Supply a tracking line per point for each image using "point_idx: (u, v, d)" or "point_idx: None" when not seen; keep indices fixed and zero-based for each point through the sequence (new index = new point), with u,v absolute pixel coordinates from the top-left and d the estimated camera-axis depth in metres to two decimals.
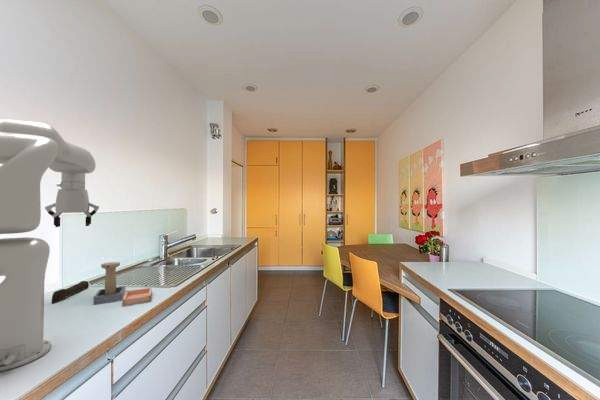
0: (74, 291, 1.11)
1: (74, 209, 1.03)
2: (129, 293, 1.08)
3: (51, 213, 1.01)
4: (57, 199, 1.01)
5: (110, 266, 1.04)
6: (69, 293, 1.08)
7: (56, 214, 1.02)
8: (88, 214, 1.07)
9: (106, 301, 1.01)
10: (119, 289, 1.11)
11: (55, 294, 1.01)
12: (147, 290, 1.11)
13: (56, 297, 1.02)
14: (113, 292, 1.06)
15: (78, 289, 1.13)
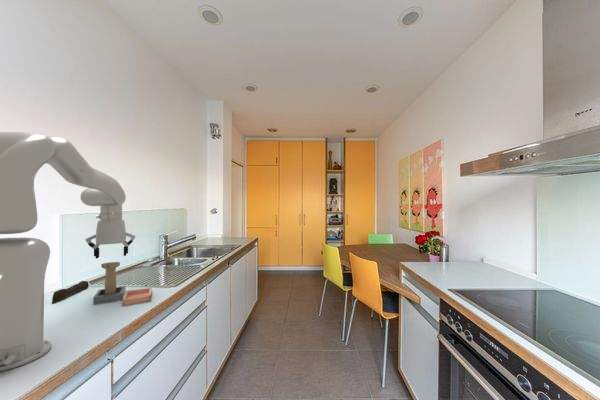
0: (74, 291, 1.11)
1: (113, 240, 1.05)
2: (129, 293, 1.08)
3: (91, 245, 1.03)
4: (97, 231, 1.03)
5: (110, 266, 1.04)
6: (69, 293, 1.08)
7: (96, 246, 1.03)
8: (126, 244, 1.08)
9: (106, 301, 1.01)
10: (119, 289, 1.11)
11: (55, 294, 1.02)
12: (147, 290, 1.11)
13: (57, 297, 1.02)
14: (113, 292, 1.06)
15: (78, 289, 1.13)
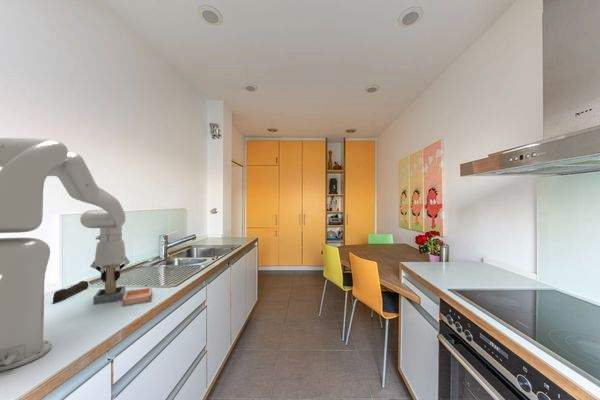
0: (74, 291, 1.11)
1: (112, 262, 1.05)
2: (129, 293, 1.08)
3: (99, 269, 1.04)
4: (96, 253, 1.02)
5: (110, 266, 1.04)
6: (70, 293, 1.08)
7: (102, 269, 1.04)
8: (117, 269, 1.07)
9: (106, 301, 1.01)
10: (119, 289, 1.11)
11: (56, 294, 1.02)
12: (147, 290, 1.11)
13: (57, 297, 1.02)
14: (113, 292, 1.06)
15: (78, 289, 1.13)
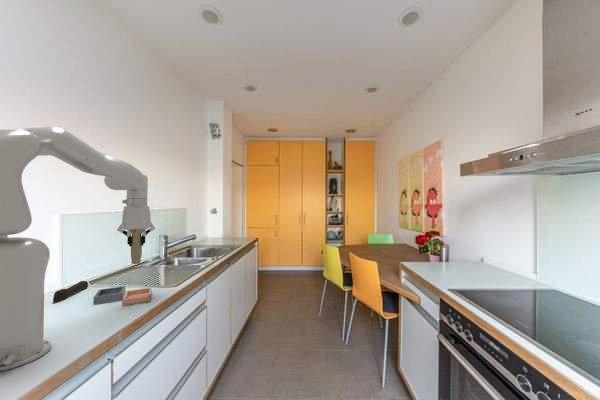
0: (74, 291, 1.11)
1: (139, 226, 1.04)
2: (129, 293, 1.08)
3: (125, 233, 1.03)
4: (123, 216, 1.02)
5: (137, 230, 1.04)
6: (70, 293, 1.08)
7: (129, 233, 1.03)
8: (143, 233, 1.06)
9: (106, 301, 1.01)
10: (119, 289, 1.11)
11: (56, 294, 1.02)
12: (147, 290, 1.11)
13: (58, 296, 1.02)
14: (139, 257, 1.05)
15: (78, 289, 1.13)
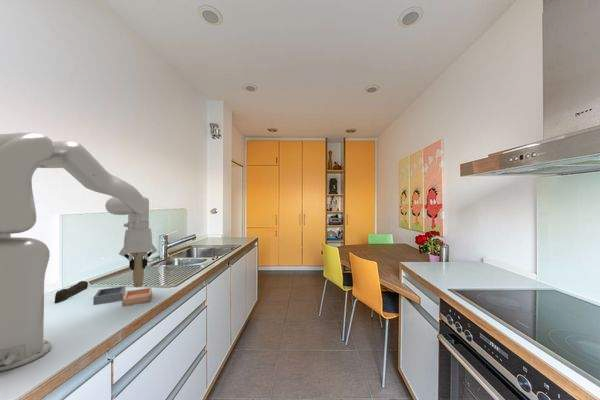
0: (75, 291, 1.11)
1: (141, 249, 1.04)
2: (129, 293, 1.08)
3: (127, 256, 1.03)
4: (125, 240, 1.01)
5: (138, 254, 1.04)
6: (70, 293, 1.08)
7: (130, 257, 1.03)
8: (145, 256, 1.06)
9: (106, 301, 1.01)
10: (119, 289, 1.11)
11: (58, 294, 1.02)
12: (147, 290, 1.11)
13: (59, 296, 1.02)
14: (141, 280, 1.05)
15: (78, 289, 1.13)
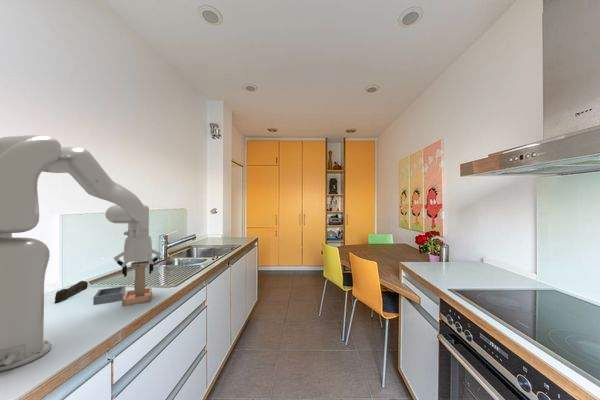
0: (75, 291, 1.11)
1: (140, 257, 1.04)
2: (129, 293, 1.08)
3: (120, 263, 1.02)
4: (125, 249, 1.01)
5: (140, 265, 1.04)
6: (70, 293, 1.08)
7: (124, 264, 1.02)
8: (151, 262, 1.07)
9: (106, 301, 1.01)
10: (119, 289, 1.11)
11: (58, 294, 1.02)
12: (147, 290, 1.11)
13: (59, 296, 1.02)
14: (143, 291, 1.05)
15: (78, 289, 1.13)
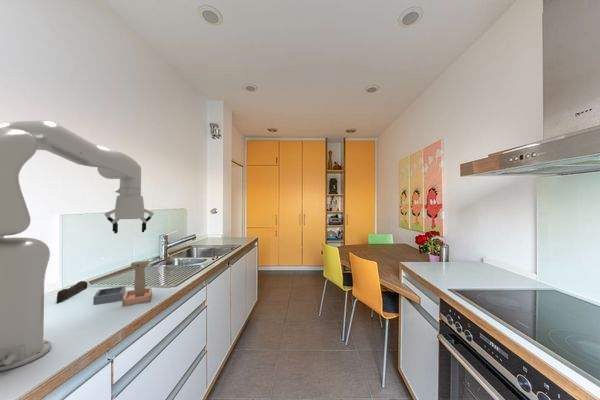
0: (75, 291, 1.11)
1: (132, 215, 1.03)
2: (129, 293, 1.08)
3: (110, 219, 1.01)
4: (116, 205, 1.01)
5: (140, 265, 1.04)
6: (71, 293, 1.08)
7: (115, 220, 1.02)
8: (144, 220, 1.07)
9: (106, 301, 1.01)
10: (119, 289, 1.11)
11: (60, 294, 1.02)
12: (147, 290, 1.11)
13: (61, 296, 1.02)
14: (143, 291, 1.05)
15: (78, 289, 1.13)
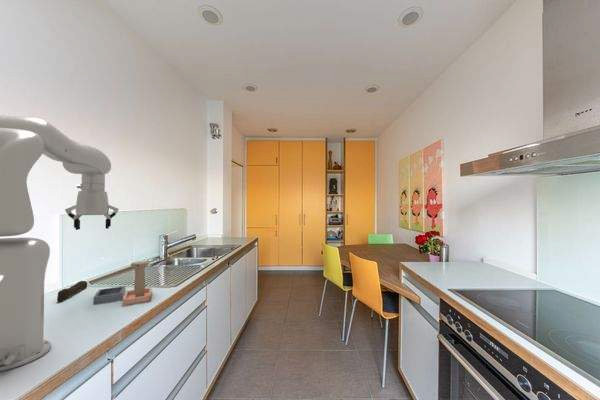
0: (75, 291, 1.11)
1: (94, 211, 1.01)
2: (129, 293, 1.08)
3: (71, 215, 0.99)
4: (77, 201, 0.99)
5: (140, 265, 1.04)
6: (72, 293, 1.08)
7: (76, 216, 0.99)
8: (108, 216, 1.05)
9: (106, 301, 1.01)
10: (119, 289, 1.11)
11: (60, 293, 1.02)
12: (147, 290, 1.11)
13: (61, 296, 1.02)
14: (143, 291, 1.05)
15: (78, 289, 1.13)
